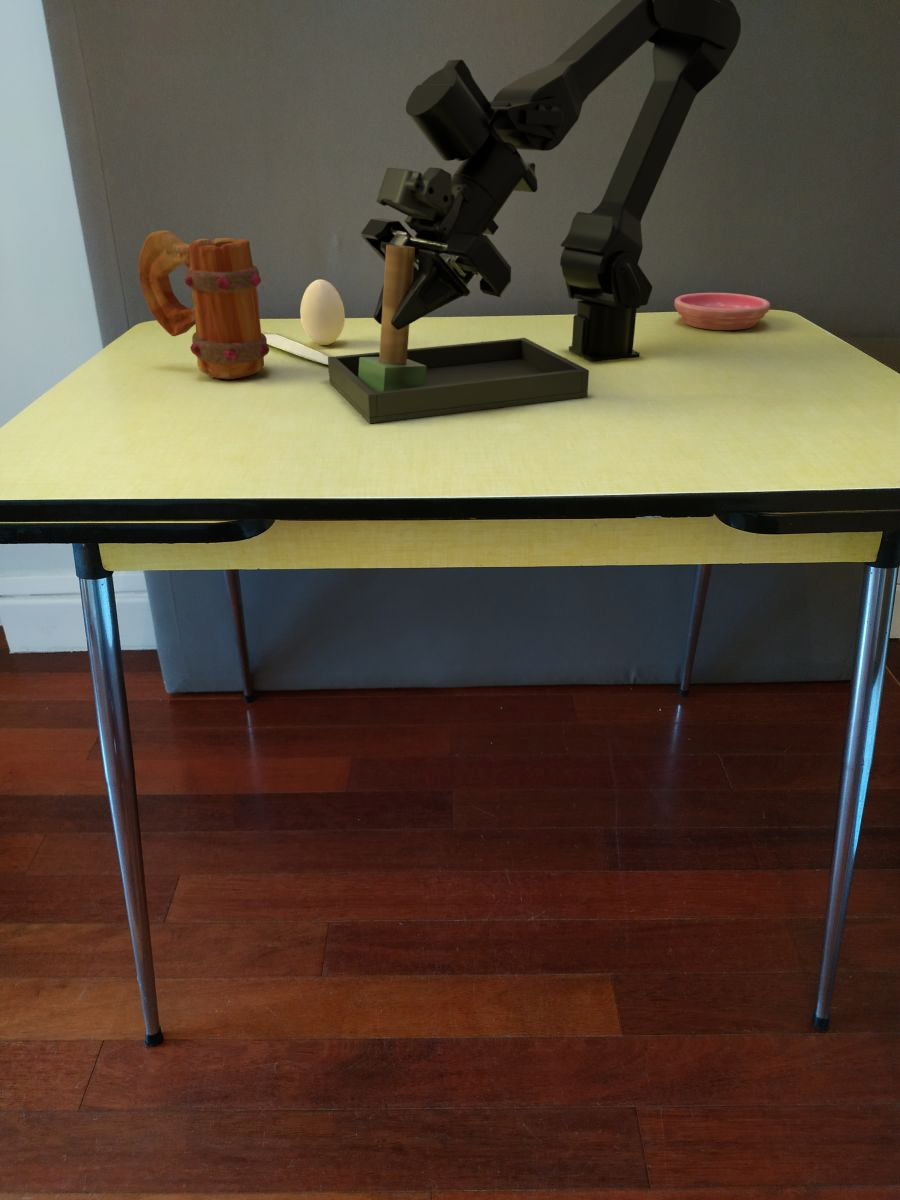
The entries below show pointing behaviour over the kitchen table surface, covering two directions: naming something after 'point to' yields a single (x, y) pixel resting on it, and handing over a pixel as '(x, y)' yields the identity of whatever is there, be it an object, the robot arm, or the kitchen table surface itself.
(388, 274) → the peg on green base
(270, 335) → the knife
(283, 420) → the kitchen table surface
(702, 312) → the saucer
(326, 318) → the egg
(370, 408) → the tray
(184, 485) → the kitchen table surface
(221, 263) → the mug
